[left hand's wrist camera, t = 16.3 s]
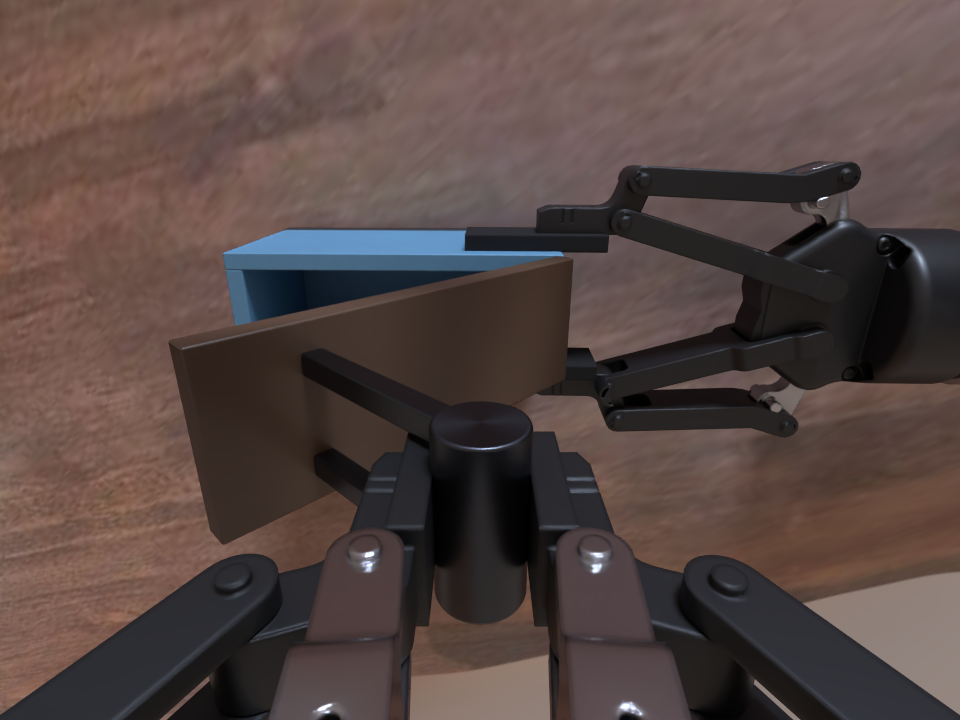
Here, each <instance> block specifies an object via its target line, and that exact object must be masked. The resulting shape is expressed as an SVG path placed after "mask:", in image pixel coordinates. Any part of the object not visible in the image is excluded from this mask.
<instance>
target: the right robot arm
mask: <svg viewBox="0 0 960 720" xmlns="http://www.w3.org/2000/svg"><path fill="white" fill-rule="evenodd" d="M860 176H861V170H860V167H859V166H858V165H857V164H855V163H853V162H828V161H818V162H812V163H809V164H805V165H802V166H799V167H796V168H792V169H789V170H786V171H782V172H779V173H769V172H751V171H732V170H713V169H695V168H676V167H657V166H639V165H631V166H627V167H625V168H623V170H622V171H621V172H620V174H619V177H618V184H617V186H616V188H615V191H614V193H613V195H612V196H611V198H610V199H609V200H608V201H607V202H605V203H603V204H601V205H546V206H543V207H541V208H538V209H537V221H536V228H519V227H467V230H466V233H465V251H537V252H591V253H608V242H609V236H608V235H618V236H621V237H624V238H627V239H630V240H634V241H637V242H640V243H643V244H646V245H649V246H653V247H656V248H659V249H662V250H665V251H669V252H672V253H675V254H678V255H681V256H685V257H688V258H691V259H694V260H697V261H701V262H704V263H707V264H710V265H713V266H717V267H720V268H723V269H726V270H729V271H733V272H736V273H739V274H742V275H744V276H743V281H742V294H743V302H742V304H741V306H740V308H739V311H738V313H737V315H736V320H735V323H731V324H727V325H724V326H720V327H717V328H715V329H714V330H713V331H712V332H711V333H707V334H703V335H699V336H695V337H692V338H688V339H684V340H680V341H676V342H672V343H668V344H664V345H660V346H656V347H652V348H648V349H645V350H641V351H637V352H633V353H629V354H625V355H621V356H617V357H613V358H609V359H605V360H601V361H598V362H595V360H594V358H593V356H592V354H591V352H590V350H589V348H567V363H566V378H565V380H563V381H561V382H558V383H556V384H554V385H552V386H550V387H548V388H546V389H544V390H542V391H540V392H538V393H537V394H539V395H561V396H590V397H593V398H595V399H596V400H597V401H598V406H599V408H600V410H601V413H602V415H603V418H604V420H605V423H606V425H607V427H608V428H609V429H610V430H612V431H655V430H693V429H731V428H753V429H756V430H760V431H763V432H766V433H769V434H773V435H776V436H779V437H789V436H791V435H793V434H794V433H795V432H796V431H797V429H798V422H797V420H796V419H795V418H794V417H793V416H792V413H793V412H794V410H795V408H796V406H797V405H798V403H799V401H800V400H801V398H802V396H803V395H804V393H805V391H806V390H813V389H818V388H820V387H823V386H825V385H827V384H830V383H833V382H838V381H848V382H858V383H900V384H934V383H945V384H957V385H960V230H958V231H955V230H951V229H895V228H867V227H865V226H863V225H862V224H861V223H859V222H857V221H855V220H851V219H849V204H848V190H850V189H852V188H853V187H854V186H856V185H857V183H858V182H859V180H860ZM648 196H664V197H683V198H701V199H720V200H738V201H757V202H775V203H790V205H791V207H792V209H793V210H794V211H796V212H799V213H804V214H809V215H813V216H814V217H815V220H816V222H815V223H813V224H812V225H810V226H808V227H807V228H805V229H804V230H802V231H800V232H799V233H797V234H796V235H794V236H792V237H791V238H789V239H788V240H786V241H784V242H783V243H781V244H780V245H778V246H776V247H775V248H773V249H772V250H770V251H768V252H765V251H762V250H759V249H756V248H752V247H749V246H746V245H743V244H740V243H737V242H733V241H730V240H727V239H723V238H720V237H717V236H714V235H711V234H708V233H705V232H701V231H698V230H695V229H692V228H689V227H686V226H683V225H679V224H676V223H673V222H670V221H667V220H664V219H661V218H657V217H654V216H651V215H648V214H645V213H642V212H641V210H642V208H643V206H644V204H645V202H646V200H647V198H648ZM767 366H769V367H770V368H771V369H773V370H774V371H775V372H777V373H778V374H779V375H780V376H781V377H780V379H779V380H778V381H777V382H775V383H773V384H770V385H763V384H762V385H757V384H755V385H753V386H751V388H750V391H748V390H744V389H737V388H705V389H671V390H653V389H657V388H661V387H665V386H669V385H673V384H678V383H682V382H686V381H690V380H694V379H698V378H702V377H706V376H710V375H714V374H718V373H722V372H726V371H731V370H738V371H751V370H755V369H759V368H763V367H767Z"/></svg>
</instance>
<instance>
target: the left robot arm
mask: <svg viewBox="0 0 960 720" xmlns="http://www.w3.org/2000/svg"><path fill="white" fill-rule="evenodd" d="M527 564H528V573H529V582H530V591H531V600H532V608H533V617H534V626H548V632H549V639H550V646H549V661H548V663H549V692H550V720H793V719H792V718H791V717H789V716H788V715H787V714H786V713H785V712H784V711H783V710H782V709H781V708H780V707H778V706H777V705H776V704H775V703H774V702H773V701H772V700H771V699H770V698H768V697H767V696H766V695H765V694H764V693H763V692H762V691H761V690H760V689H759V688H757V687H756V686H755V685H754V680H755V679H756V680H757V681H758V682H759V683H760V684H761V685H762V686H764V687H765V688H766V689H767V690H768V691H769V692H770V693H771V694H772V695H774V696H775V697H776V698H777V699H778V700H779V701H780V702H781V703H783V704H784V705H785V706H786V707H787V708H788V709H789V710H790V711H791V712H793V713H794V714H795V715H796V716H797V717H798V718H799V719H800V720H960V715H959V714H957V713H956V712H955V711H953V710H952V709H950V708H949V707H947V706H946V705H945V704H943V703H942V702H940V701H939V700H938V699H936V698H935V697H933V696H932V695H931V694H929V693H928V692H926V691H925V690H924V689H922V688H921V687H919V686H918V685H917V684H915V683H914V682H912V681H911V680H909V679H908V678H907V677H905V676H904V675H902V674H901V673H900V672H898V671H897V670H895V669H894V668H893V667H891V666H890V665H888V664H887V663H886V662H884V661H883V660H881V659H880V658H878V657H877V656H876V655H874V654H873V653H871V652H870V651H869V650H867V649H866V648H864V647H863V646H862V645H860V644H859V643H857V642H856V641H855V640H853V639H852V638H850V637H849V636H847V635H846V634H845V633H843V632H842V631H840V630H839V629H838V628H836V627H835V626H833V625H832V624H831V623H829V622H828V621H826V620H825V619H824V618H822V617H821V616H819V615H818V614H816V613H815V612H814V611H812V610H811V609H809V608H808V607H807V606H805V605H804V604H802V603H801V602H800V601H798V600H797V599H795V598H794V597H792V596H791V595H790V594H788V593H787V592H785V591H784V590H783V589H781V588H780V587H778V586H777V585H776V584H774V583H773V582H771V581H770V580H769V579H767V578H766V577H764V576H763V575H761V574H760V573H759V572H757V571H756V570H754V569H753V568H751V567H750V566H748V565H746V564H744V563H742V562H740V561H737V560H735V559H732V558H728V557H724V556H718V555H704V556H699V557H697V558H694V559H692V560H691V561H689V562H688V564H687V565H686V567H685V568H684V573H679V572H675V571H671V570H667V569H663V568H659V567H655V566H652V565H649V564H646V563H644V562H642V561H640V560H638V559H636V558H635V557H634V554H633V551H632V549H631V548H630V546H629V545H628V544H627V543H626V542H625V541H624V540H623V539H622V538H620V537H619V536H617V535H616V534H614V531H613V528H612V525H611V523H610V520H609V517H608V514H607V511H606V508H605V505H604V503H603V500H602V497H601V494H600V493H599V488H598V486H597V483H596V481H595V477H594V474H593V471H592V468H591V466H590V464H589V463H588V462H587V461H586V460H585V459H584V458H583V457H581V456H580V455H579V454H578V453H577V452H560V451H559V447H558V444H557V440H556V436H555V433H554V432H533V443H532V467H531V476H530V501H529V525H528V549H527ZM434 572H435V543H434V516H433V490H432V474H431V470H430V450H429V443H428V442H426V441H424V440H422V439H420V438H418V437H416V436H415V435H413V434H411V433H409V432H408V435H407V438H406V442H405V446H404V450H403V452H385V453H384V454H383V455H382V456H381V457H380V458H379V459H378V460H377V461H376V462H375V463H374V464H373V465H372V468H371V471H370V473H369V476H368V481H367V482H366V485H365V488H364V493H363V494H362V497H361V500H360V503H359V506H358V509H357V511H356V514H355V517H354V520H353V523H352V526H351V529H350V532H349V533H346V534H344V535H343V536H341V537H340V538H338V539H337V540H336V541H335V542H334V543H333V544H332V545H331V546H330V548H329V549H328V551H327V554H326V557H325V560H323V561H321V562H319V563H317V564H314V565H311V566H308V567H304V568H300V569H296V570H292V571H288V572H283V573H278V568H277V566H276V564H275V562H274V561H273V560H272V559H270V558H268V557H266V556H263V555H259V554H241V555H236V556H232V557H229V558H226V559H224V560H221V561H219V562H217V563H215V564H213V565H212V566H210V567H209V568H207V569H206V570H204V571H203V572H201V573H200V574H199V575H197V576H196V577H194V578H193V579H191V580H190V581H189V582H187V583H186V584H184V585H183V586H182V587H180V588H179V589H177V590H176V591H175V592H173V593H172V594H170V595H169V596H168V597H166V598H165V599H163V600H162V601H160V602H159V603H158V604H156V605H155V606H153V607H152V608H151V609H149V610H148V611H146V612H145V613H144V614H142V615H141V616H139V617H138V618H137V619H135V620H134V621H132V622H131V623H129V624H128V625H127V626H125V627H124V628H122V629H121V630H120V631H118V632H117V633H115V634H114V635H113V636H111V637H110V638H108V639H107V640H106V641H104V642H103V643H101V644H100V645H98V646H97V647H96V648H94V649H93V650H91V651H90V652H89V653H87V654H86V655H84V656H83V657H82V658H80V659H79V660H77V661H76V662H74V663H73V664H72V665H70V666H69V667H67V668H66V669H65V670H63V671H62V672H60V673H59V674H58V675H56V676H55V677H53V678H52V679H51V680H49V681H48V682H46V683H45V684H43V685H42V686H41V687H39V688H38V689H36V690H35V691H34V692H32V693H31V694H29V695H28V696H27V697H25V698H24V699H22V700H21V701H20V702H18V703H17V704H15V705H14V706H12V707H11V708H10V709H8V710H7V711H5V712H4V713H3V714H1V715H0V720H160V719H161V718H162V717H163V716H164V715H165V714H166V713H167V712H169V711H170V710H171V709H172V708H173V707H174V706H175V705H176V704H178V703H179V702H180V701H181V700H182V699H183V698H184V697H185V696H186V695H188V694H189V693H190V692H191V691H192V690H193V689H194V688H195V687H197V686H198V685H199V684H200V683H201V682H202V681H203V680H204V679H205V678H207V677H208V676H209V679H210V681H209V682H208V683H207V684H206V685H205V686H204V687H203V688H201V689H200V690H199V691H198V692H197V693H196V694H195V695H194V696H193V697H191V698H190V699H189V700H188V701H187V702H186V703H185V704H184V705H183V706H182V707H180V708H179V709H178V710H177V711H176V712H175V713H174V714H173V715H172V716H171V717H169V718H168V719H167V720H409V719H410V690H411V650H412V647H413V642H414V635H415V628H416V626H429V618H430V609H431V600H432V590H433V581H434Z"/></svg>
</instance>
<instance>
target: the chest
mask: <svg viewBox="0 0 960 720" xmlns="http://www.w3.org/2000/svg"><path fill="white" fill-rule="evenodd" d="M466 230H467V229H454V228H288V229H285V230H284V231H281V232H279V233H276V234H273V235H270V236H268V237H265V238H262V239H260V240H257V241H254V242H252V243H249V244H246V245H243V246H241V247H238V248H235V249H233V250H230V251H227V252H225V253H223V257H224V263H225V269H226V275H227V281H228V287H229V292H230V298H231V304H232V310H233V316H234V321H235V326H237V325H241V324H246V323H251V322H255V321H260V320H264V319H269V318H274V317H278V316H283V315H288V314H292V313H297V312H301V311H306V310H311V309H315V308H320V307H325V306H329V305H334V304H338V303H343V302H348V301H352V300H357V299H362V298H366V297H371V296H375V295H380V294H385V293H389V292H394V291H399V290H403V289H408V288H412V287H417V286H422V285H426V284H431V283H436V282H440V281H445V280H449V279H454V278H459V277H463V276H468V275H473V274H477V273H482V272H486V271H491V270H496V269H500V268H505V267H510V266H514V265H519V264H523V263H528V262H533V261H537V260H542V259H547V258H551V257H556V256H560V257H564V255H563V254H562V252H537V251H465V233H466Z"/></svg>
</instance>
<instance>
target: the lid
mask: <svg viewBox="0 0 960 720" xmlns="http://www.w3.org/2000/svg"><path fill="white" fill-rule="evenodd" d="M572 271H573V259H572V258H566V257H560V256H556V257H551V258H547V259H542V260H537V261H533V262H528V263H523V264H519V265H514V266H510V267H505V268H500V269H496V270H491V271H486V272H482V273H477V274H473V275H468V276H463V277H459V278H454V279H449V280H445V281H440V282H436V283H431V284H426V285H422V286H417V287H412V288H408V289H403V290H399V291H394V292H389V293H385V294H380V295H375V296H371V297H366V298H362V299H357V300H352V301H348V302H343V303H338V304H334V305H329V306H325V307H320V308H315V309H311V310H306V311H301V312H297V313H292V314H288V315H283V316H278V317H274V318H269V319H264V320H260V321H255V322H251V323H246V324H241V325H237V326H232V327H227V328H223V329H218V330H214V331H209V332H204V333H200V334H195V335H191V336H186V337H181V338H177V339H172V340H170V341H169V347H170V351H171V356H172V360H173V365H174V369H175V374H176V378H177V383H178V387H179V392H180V396H181V401H182V405H183V410H184V414H185V419H186V423H187V428H188V432H189V437H190V441H191V446H192V450H193V455H194V459H195V464H196V468H197V473H198V477H199V482H200V486H201V491H202V495H203V500H204V504H205V509H206V513H207V518H208V522H209V527H210V531H211V532H212V533H213V534H214V535H215V536H216V538H217V539H218V540H219V541H220V542H221V543H222V544H223V545H224V544H227V543H229V542H231V541H233V540H235V539H237V538H239V537H241V536H243V535H245V534H247V533H249V532H252V531H254V530H256V529H258V528H260V527H262V526H264V525H266V524H268V523H270V522H272V521H274V520H276V519H278V518H280V517H282V516H284V515H287V514H289V513H291V512H293V511H295V510H297V509H299V508H301V507H303V506H305V505H307V504H309V503H311V502H313V501H315V500H317V499H320V498H322V497H324V496H326V495H328V494H330V493H332V492H334V491H337V492H339V493H340V494H341V495H343V496H344V497H345V498H347V499H348V500H349V501H351V502H352V503H353V504H355V505H356V506H357V507H358V506H359V503H360V500H361V497H362V494H363V493H364V488H365V485H366V482H367V481H368V476H369V473H370V471H371V468H372V465H373V464H374V463H375V462H376V461H377V460H378V459H379V458H380V457H381V456H382V455H383V454H384V453H385V452H403V450H404V446H405V442H406V438H407V435H408V432H409V433H411V434H413V435H415V436H416V437H418V438H420V439H422V440H424V441H426V442H428V443H429V450H430V470H431V474H432V490H433V516H434V543H435V572H434V584H435V595H436V598H437V600H438V602H439V604H440V605H441V607H442V608H443V609H444V610H445V611H446V612H447V613H448V614H449V615H450V616H452V617H454V618H455V619H457V620H460V621H462V622H466V623H470V624H480V625H482V624H491V623H495V622H499V621H501V620H504V619H506V618H507V617H509V616H511V615H512V614H513V613H514V612H515V611H516V610H517V609H518V608H519V607H520V605H521V604H522V602H523V600H524V598H525V595H526V583H527V549H528V525H529V501H530V476H531V467H532V443H533V425H532V422H531V420H530V418H529V417H528V416H527V415H526V414H525V413H524V412H522V411H521V410H519V409H517V408H515V407H512V406H511V405H513V404H515V403H517V402H519V401H521V400H523V399H525V398H528V397H530V396H532V395H534V394H536V393H538V392H540V391H542V390H544V389H546V388H548V387H550V386H552V385H554V384H556V383H558V382H561V381H563V380H565V378H566V363H567V347H568V332H569V317H570V301H571V286H572Z"/></svg>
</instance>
